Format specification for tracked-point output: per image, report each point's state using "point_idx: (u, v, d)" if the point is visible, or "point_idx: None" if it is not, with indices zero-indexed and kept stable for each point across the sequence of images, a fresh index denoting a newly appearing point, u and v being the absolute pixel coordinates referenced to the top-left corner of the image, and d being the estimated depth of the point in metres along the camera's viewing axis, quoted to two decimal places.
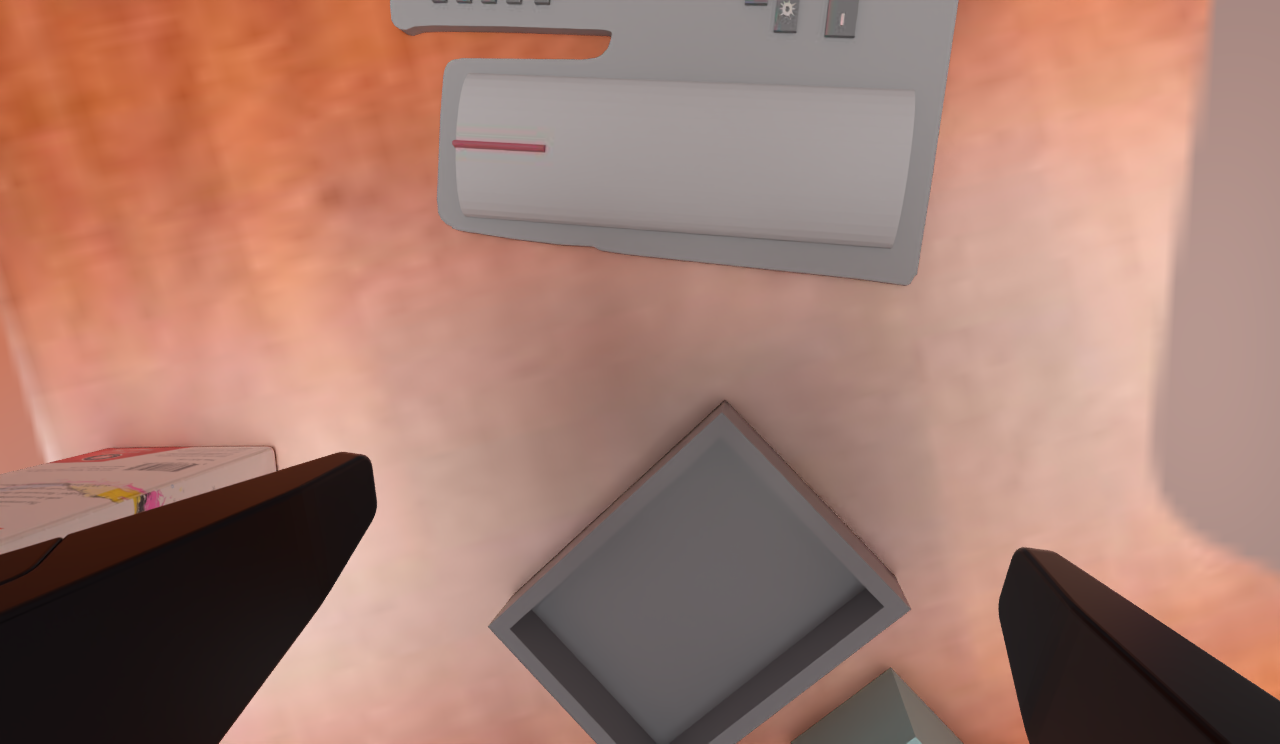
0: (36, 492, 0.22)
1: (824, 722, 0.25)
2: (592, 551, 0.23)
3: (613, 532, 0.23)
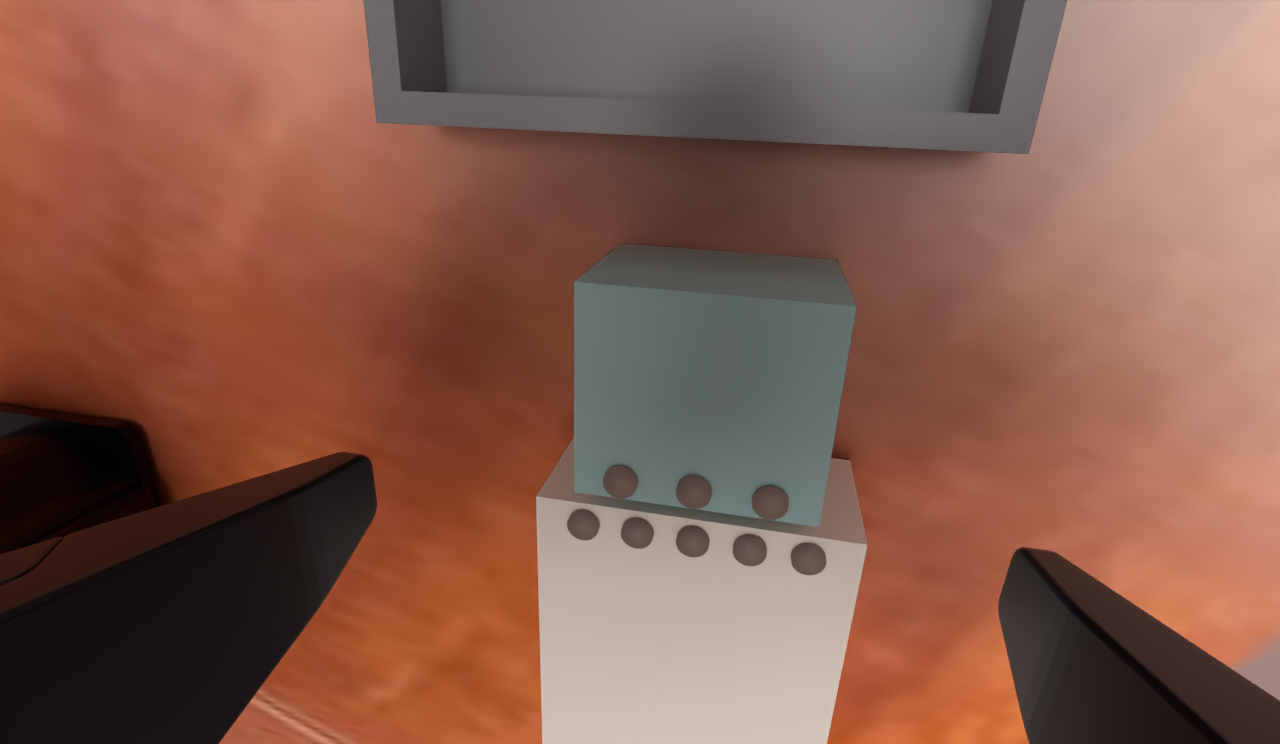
0: None
1: (688, 250, 0.15)
2: None
3: None
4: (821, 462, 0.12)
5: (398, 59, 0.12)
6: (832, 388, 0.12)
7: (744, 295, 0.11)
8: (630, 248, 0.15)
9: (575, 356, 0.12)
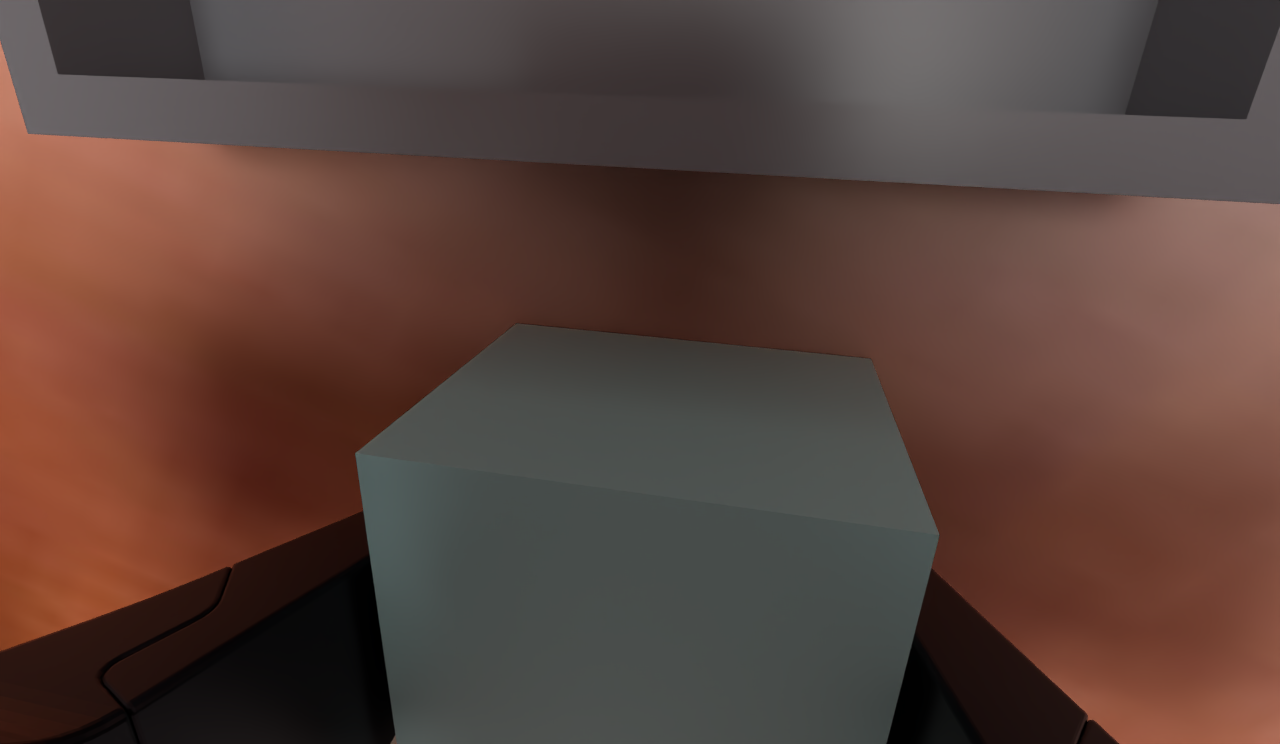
0: None
1: (621, 342, 0.09)
2: None
3: None
4: None
5: (42, 13, 0.07)
6: (880, 679, 0.06)
7: (696, 496, 0.05)
8: (523, 339, 0.09)
9: (375, 584, 0.06)
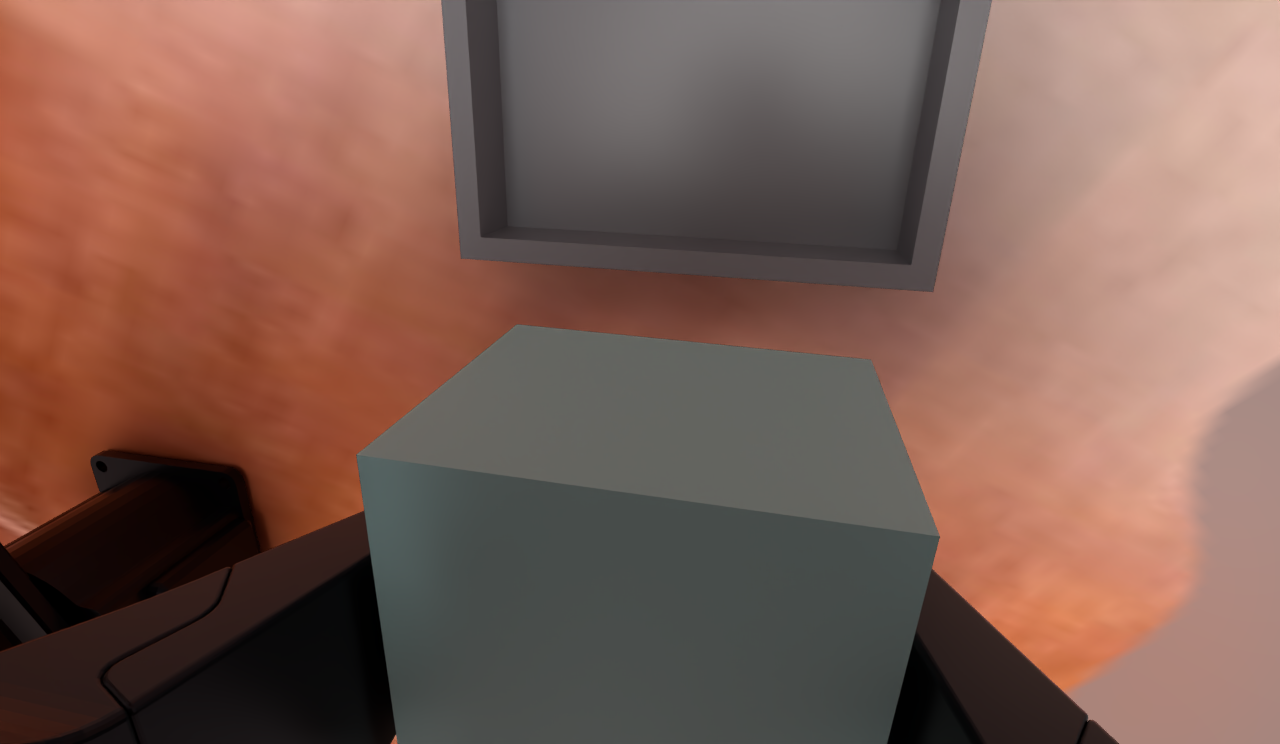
0: None
1: (621, 343, 0.09)
2: None
3: None
4: None
5: (479, 215, 0.17)
6: (880, 680, 0.06)
7: (697, 498, 0.05)
8: (523, 340, 0.09)
9: (376, 585, 0.06)
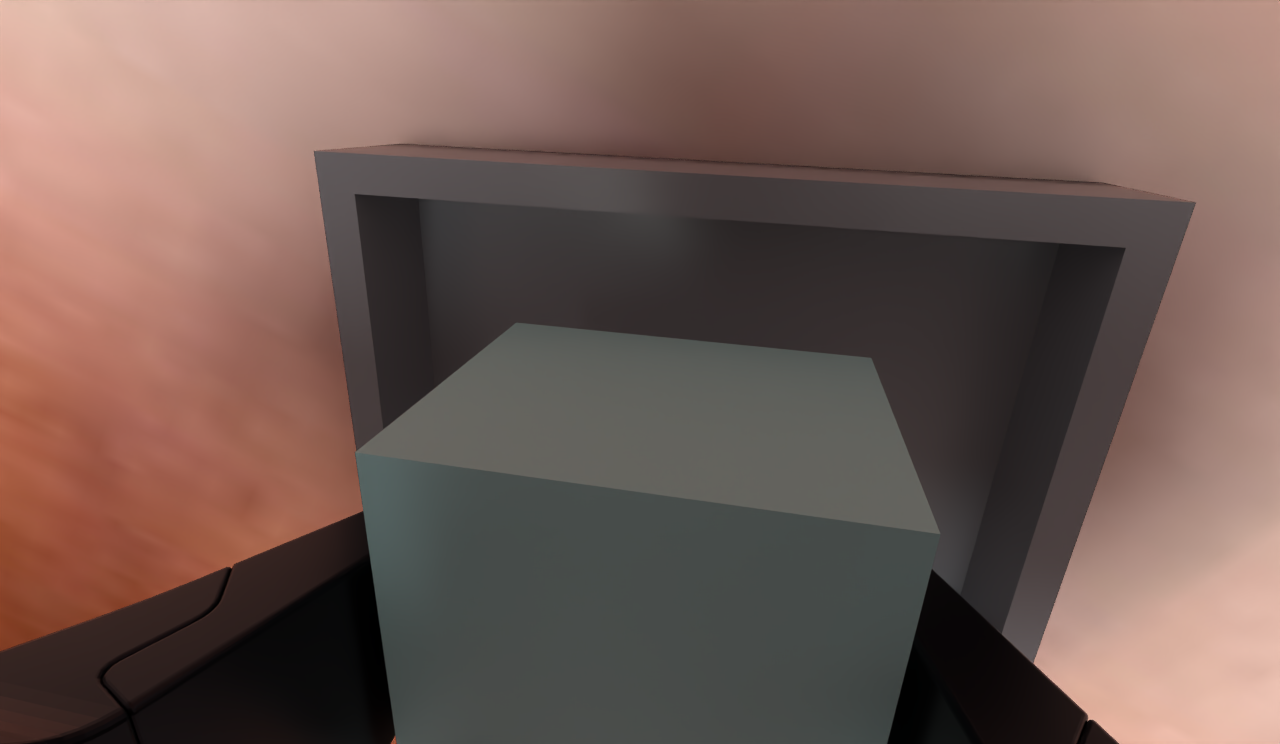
0: None
1: (621, 342, 0.09)
2: (643, 210, 0.09)
3: (720, 215, 0.09)
4: None
5: None
6: (881, 678, 0.06)
7: (697, 495, 0.05)
8: (523, 338, 0.09)
9: (375, 583, 0.06)
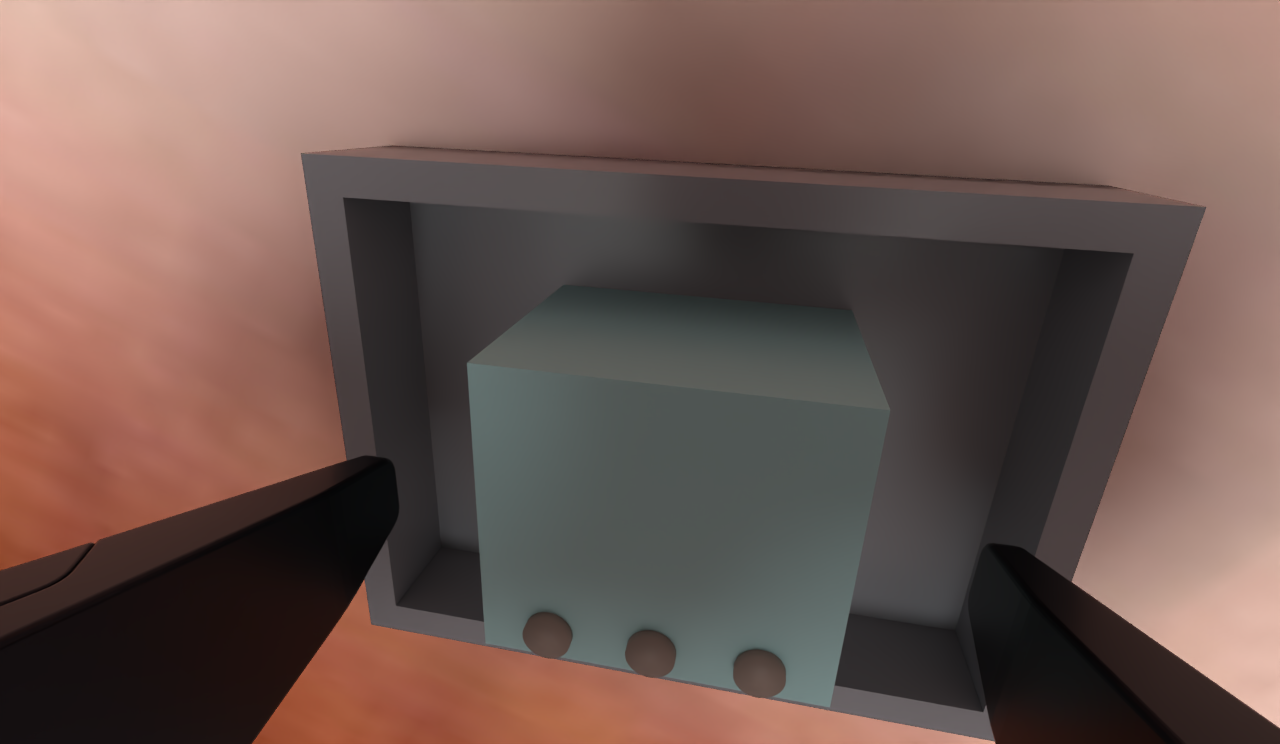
0: None
1: (651, 298, 0.11)
2: (638, 214, 0.09)
3: (717, 219, 0.09)
4: (833, 623, 0.08)
5: (392, 582, 0.13)
6: (851, 524, 0.08)
7: (718, 389, 0.08)
8: (572, 295, 0.11)
9: (475, 466, 0.09)
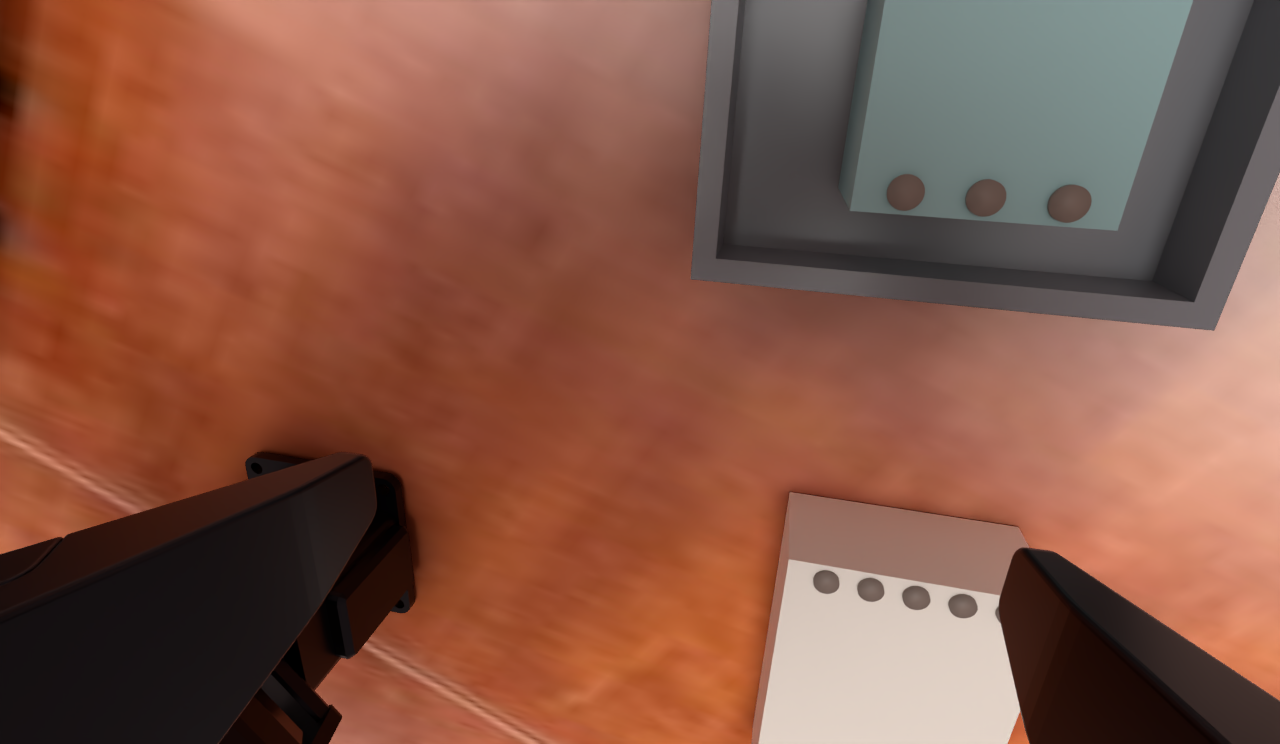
0: None
1: None
2: None
3: None
4: (1133, 152, 0.12)
5: (717, 236, 0.16)
6: (1161, 61, 0.11)
7: None
8: None
9: (879, 46, 0.12)
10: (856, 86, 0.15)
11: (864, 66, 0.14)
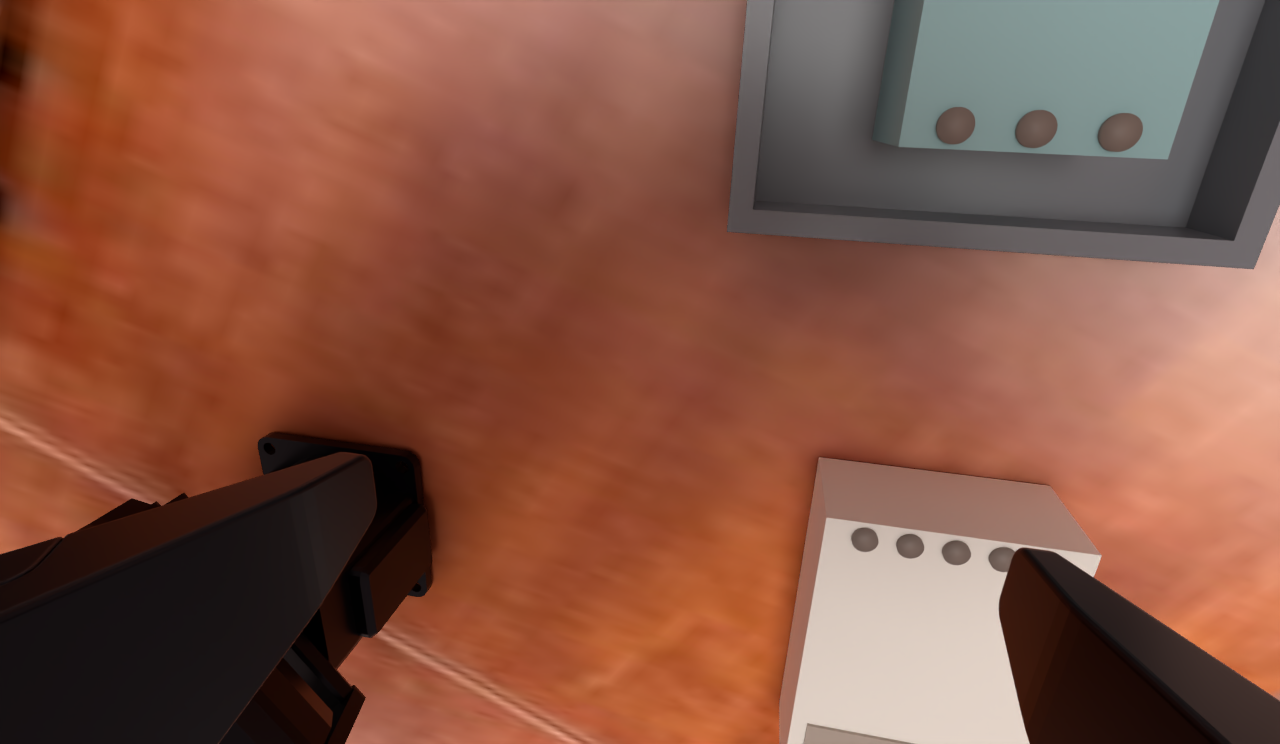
0: None
1: None
2: None
3: None
4: (1183, 78, 0.12)
5: (754, 186, 0.16)
6: None
7: None
8: None
9: None
10: (893, 33, 0.16)
11: (906, 7, 0.14)
